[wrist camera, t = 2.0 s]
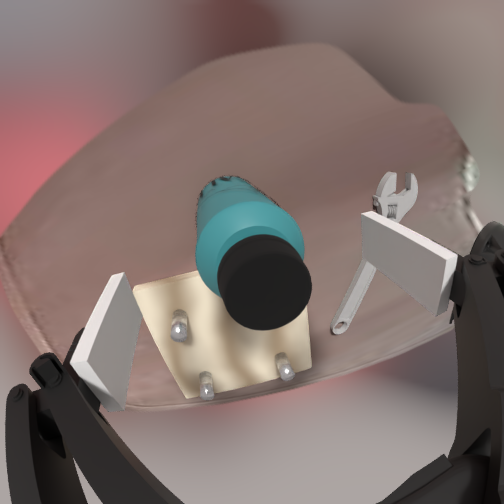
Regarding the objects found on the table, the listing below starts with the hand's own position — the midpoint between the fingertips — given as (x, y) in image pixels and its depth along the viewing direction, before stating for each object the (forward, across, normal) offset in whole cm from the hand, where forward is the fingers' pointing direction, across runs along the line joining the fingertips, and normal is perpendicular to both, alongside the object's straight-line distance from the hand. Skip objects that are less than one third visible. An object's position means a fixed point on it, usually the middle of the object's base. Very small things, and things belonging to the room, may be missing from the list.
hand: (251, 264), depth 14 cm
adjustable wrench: (+17, -18, +11) cm, 27 cm away
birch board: (+17, +3, +17) cm, 24 cm away
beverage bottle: (+17, 0, 0) cm, 17 cm away
